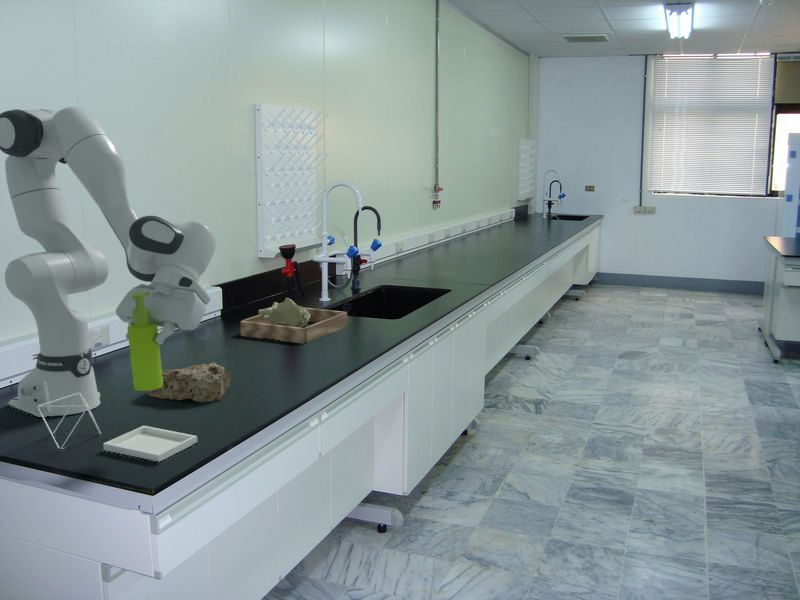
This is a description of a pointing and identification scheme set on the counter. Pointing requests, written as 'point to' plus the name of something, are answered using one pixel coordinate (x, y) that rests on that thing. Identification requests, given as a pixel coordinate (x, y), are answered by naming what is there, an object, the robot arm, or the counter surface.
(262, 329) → the specimen frame
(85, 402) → the geometric polyhedron
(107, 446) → the tray
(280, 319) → the pelvis bone
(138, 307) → the soap dispenser
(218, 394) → the rock
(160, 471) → the counter surface
